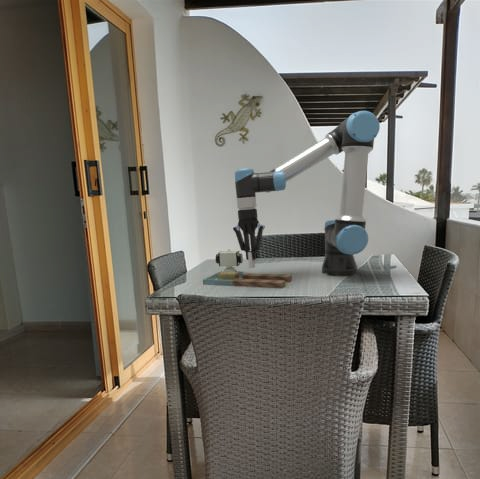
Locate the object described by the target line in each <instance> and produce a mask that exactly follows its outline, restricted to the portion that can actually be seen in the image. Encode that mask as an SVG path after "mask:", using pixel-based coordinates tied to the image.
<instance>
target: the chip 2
mask: <svg viewBox="0 0 480 479" xmlns="http://www.w3.org/2000/svg"><path fill="white" fill-rule="evenodd" d="M239 273H240V271H239V272H238V271H236V272H228V273H226V280H235V279H236V278H237V279H240V278H239Z"/></svg>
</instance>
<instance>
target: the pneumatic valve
mask: <svg viewBox="0 0 480 479" xmlns="http://www.w3.org/2000/svg"><path fill="white" fill-rule="evenodd" d="M243 256H244V255H243V254H242V253H241V252H240V250H231V249H227V250H221V251H218V253H216V255H215V264H217V265H218V267H225V269H223V272H237V269H236V268H235V267H239V266H240V265H241V264H243V261H244V257H243Z"/></svg>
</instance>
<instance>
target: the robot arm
mask: <svg viewBox="0 0 480 479" xmlns="http://www.w3.org/2000/svg"><path fill="white" fill-rule="evenodd" d="M380 125H381V124H380V121H379V119H378V116H376V115H375V113H372V112H370V111H368V110H359V111H356V112H354V113H352V114H350V115H349V117H347V118H346V119H344V120H343V121H342V122H341V123H340V124H338V125H337V127H335V128H333V129H332V130H331V131H329V132H328V133H326V134H325V136H324V138H323V139H321V140H319V141H318V142H316V143H315V144H313V145H311V146H310V147H308V148H306V149H304V150H303V151H301V152H300V153H298V154H296V155H295V156H293V157H292V158H290V159H288V160H286V161H284V162H283V163H281V164H280V165H278V166H277V167H275V168H273V169H271V170H270V171H267V172H255V170H254V168H251V167H248V168H241V169H240V168H239V169H236V170H235V171H234V182H235V183H234V184H235V185H234V186H235V192H236V193H235V195H236V206H237V216H238V218H237V219H238V223H237V225H236V226H235V227H233V228H232V230H233V231H234V233H235V236H236V238H237V242H238V245H239V248H240V250H241V251H244V252H245V259H246V261H247V260H248V269H254V268H255V267H256V263H255V260H256V259H257V251H258V250H260V249H261V246H262V245H261V244H262V239H263V232H264V230H265V227H266V226H265V225H263V224H260V221H259V219H258V209H257V208H256V207H257V197H256V196H257V193H271V192H280V191H285V190H286V188H287V183H288V182H289V181H291V180H292V179H294V178H296V177H297V176H299V175H301V174H303V173H304V172H306V171H308V170H310V169H311V168H313V167H314V166H316V165H317V164H319V163H320V162H323V161H324V160H326V159H329V157H332V156H333V155H336V156H337V155H338V154H341V153H342V152H343V153H344V162H343V173H342V184H341V194H340V195H341V197H340V206H339V208H340V209H339V215H338V216H336V217H335V219H331V220H330V219H329V220H326V221H325V222H324V228H323V229H324V246H325V247H324V248H325V250H324V251H325V254H324V259H323V262H322V265H321V273H322V274H325V275H328V276H352V275H355V274H358V265H357V263H356V259H355V257H354V255H357V254H359V253H361V252H363V251H364V250H365V249H366V248H367V246H368V243H369V235H368V232H367V231H366V226H367V225H366V224H367V220H366V219H365V218H364V216H363V213H364V212H363V211H364V202H365V193H366V192H365V191H366V183H367V182H366V180H367V173H368V162H369V154H370V153H371V152H372V151H373V150H374V145H375V144H374V143H375V139H376V138H377V136H378V134H379V132H380V127H381V126H380ZM256 230H257V233H256ZM242 234H243V235H242ZM256 234H257V235H256Z"/></svg>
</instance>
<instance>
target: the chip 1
mask: <svg viewBox="0 0 480 479" xmlns="http://www.w3.org/2000/svg"><path fill="white" fill-rule="evenodd" d="M218 272H219V273H218ZM218 272H216V273H217V278H216V280H226V273H228V272H224V271H218Z"/></svg>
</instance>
